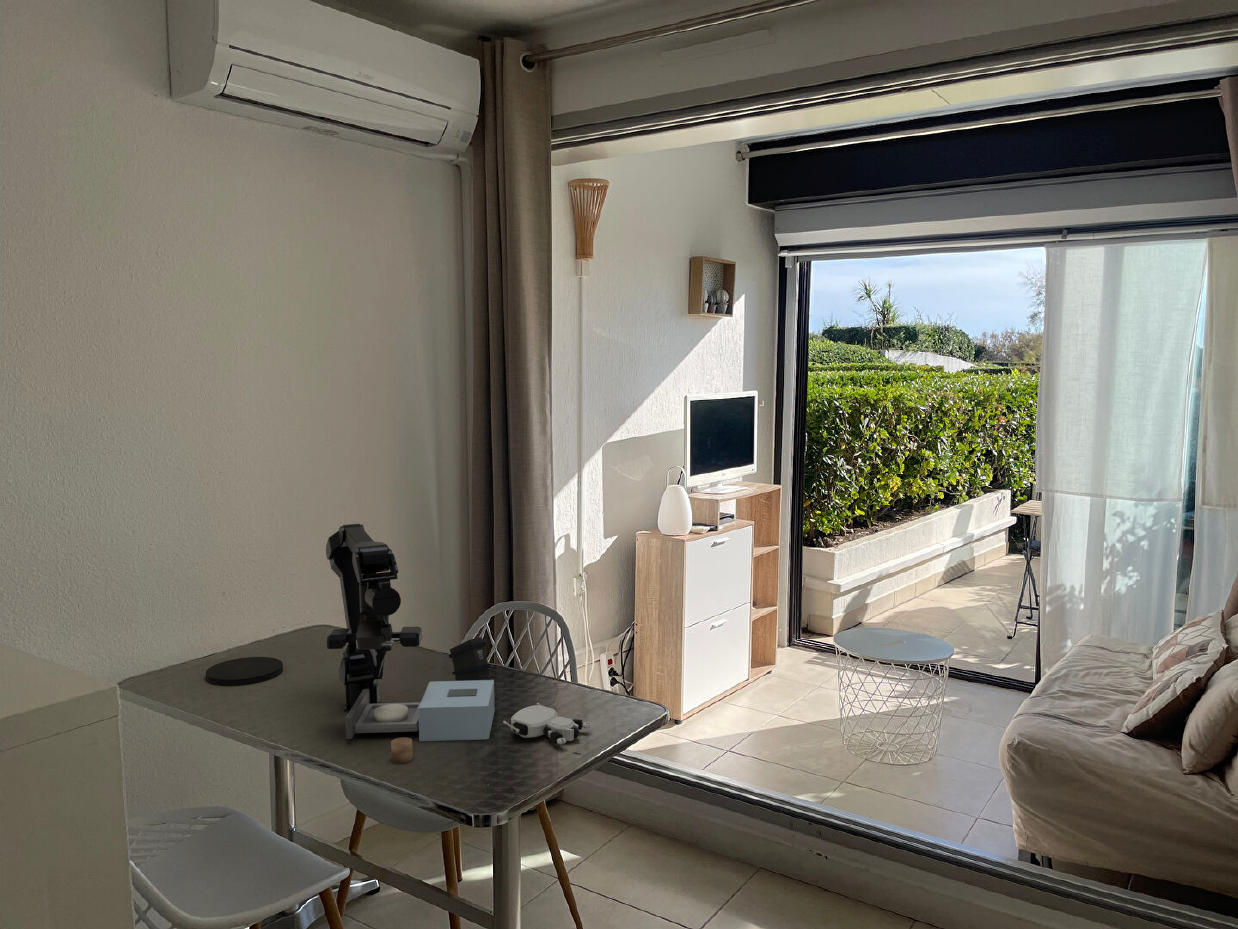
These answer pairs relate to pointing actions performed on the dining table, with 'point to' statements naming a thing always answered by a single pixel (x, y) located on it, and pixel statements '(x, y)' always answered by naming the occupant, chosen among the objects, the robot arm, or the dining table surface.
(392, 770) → the dining table surface
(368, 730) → the tray
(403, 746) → the tan short cylinder
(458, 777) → the dining table surface
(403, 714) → the cream disc
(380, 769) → the dining table surface
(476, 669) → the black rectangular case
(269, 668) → the wireless charger
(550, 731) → the robot toy
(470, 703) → the box
